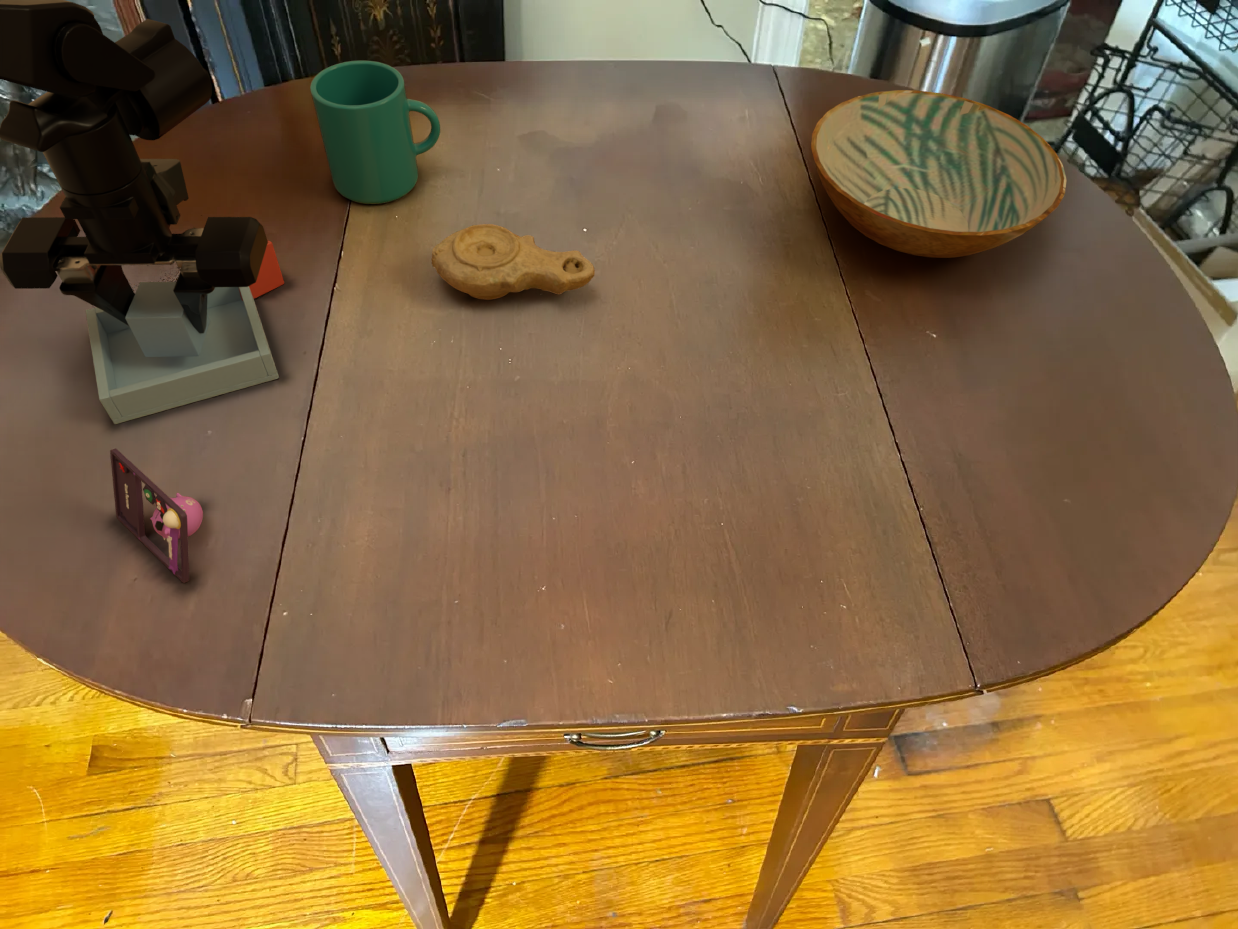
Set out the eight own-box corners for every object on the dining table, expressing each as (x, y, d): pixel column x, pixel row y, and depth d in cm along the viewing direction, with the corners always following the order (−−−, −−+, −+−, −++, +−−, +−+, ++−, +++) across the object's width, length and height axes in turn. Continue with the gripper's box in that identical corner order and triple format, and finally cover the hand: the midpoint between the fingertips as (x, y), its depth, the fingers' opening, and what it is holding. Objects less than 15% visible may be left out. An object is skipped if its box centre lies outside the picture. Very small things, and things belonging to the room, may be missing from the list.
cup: (451, 198, 97) (439, 99, 88) (336, 211, 95) (311, 111, 86) (441, 150, 102) (428, 53, 93) (331, 162, 100) (308, 63, 91)
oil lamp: (598, 306, 87) (599, 264, 83) (451, 336, 84) (445, 294, 80) (566, 239, 93) (566, 197, 89) (428, 264, 90) (421, 222, 86)
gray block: (145, 357, 78) (124, 317, 74) (158, 321, 80) (139, 281, 77) (199, 356, 78) (181, 317, 74) (210, 320, 81) (194, 281, 77)
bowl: (750, 190, 99) (761, 124, 93) (924, 133, 108) (945, 68, 101) (901, 332, 86) (926, 265, 80) (1086, 254, 94) (1122, 188, 88)
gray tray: (114, 424, 76) (99, 399, 73) (99, 335, 82) (85, 309, 80) (279, 378, 80) (270, 353, 77) (253, 296, 86) (243, 271, 84)
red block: (244, 304, 85) (229, 261, 82) (217, 286, 87) (202, 245, 84) (284, 283, 87) (272, 242, 84) (257, 267, 90) (244, 226, 86)
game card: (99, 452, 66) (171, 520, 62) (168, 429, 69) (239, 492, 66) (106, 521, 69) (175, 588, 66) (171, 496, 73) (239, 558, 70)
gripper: (253, 112, 72) (300, 268, 84) (7, 111, 71) (91, 270, 83) (222, 197, 65) (278, 354, 77) (-51, 197, 64) (50, 356, 76)
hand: (174, 330), depth 78 cm, fingers closed on gray block, 4 cm apart
